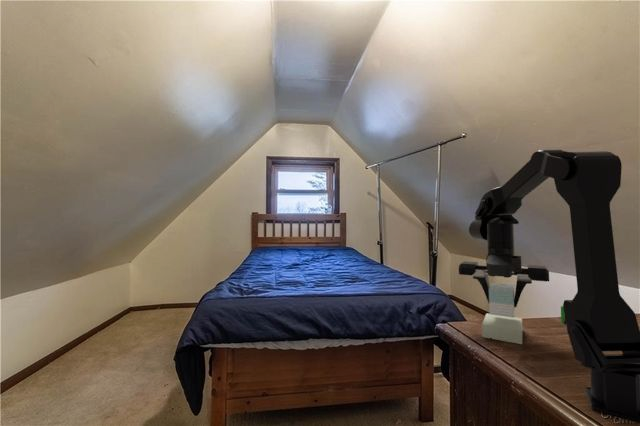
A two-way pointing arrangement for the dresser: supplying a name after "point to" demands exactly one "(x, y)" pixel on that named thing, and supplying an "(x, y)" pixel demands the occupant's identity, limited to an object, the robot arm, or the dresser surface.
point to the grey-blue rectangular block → (501, 300)
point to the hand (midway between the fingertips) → (502, 305)
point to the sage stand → (502, 328)
